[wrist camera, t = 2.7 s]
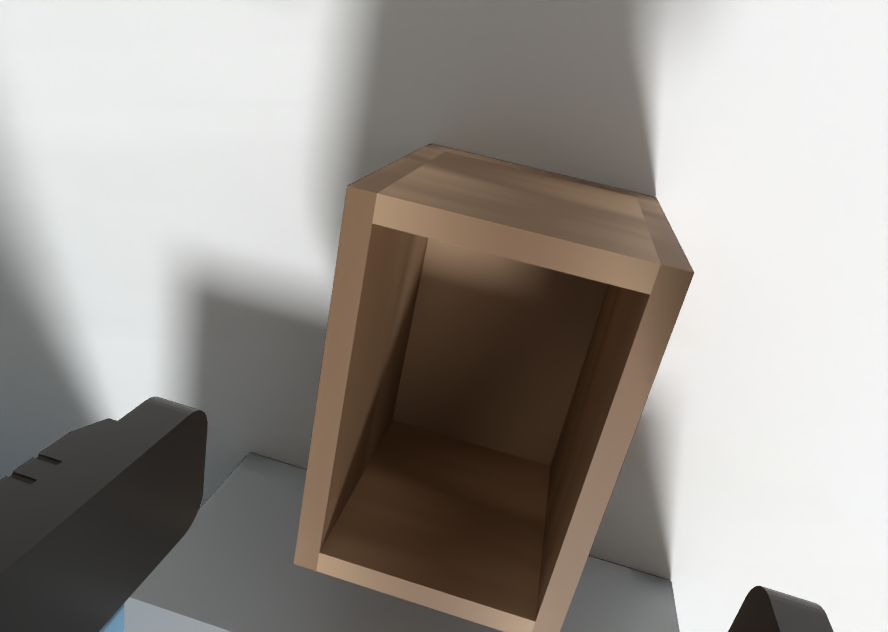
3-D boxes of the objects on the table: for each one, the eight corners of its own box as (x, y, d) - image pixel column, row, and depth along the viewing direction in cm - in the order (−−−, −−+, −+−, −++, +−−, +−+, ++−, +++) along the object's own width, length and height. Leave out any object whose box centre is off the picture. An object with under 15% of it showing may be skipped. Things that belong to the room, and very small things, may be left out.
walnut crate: (378, 419, 19) (293, 563, 14) (430, 143, 16) (347, 185, 10) (564, 473, 18) (554, 648, 13) (656, 197, 15) (694, 273, 10)
